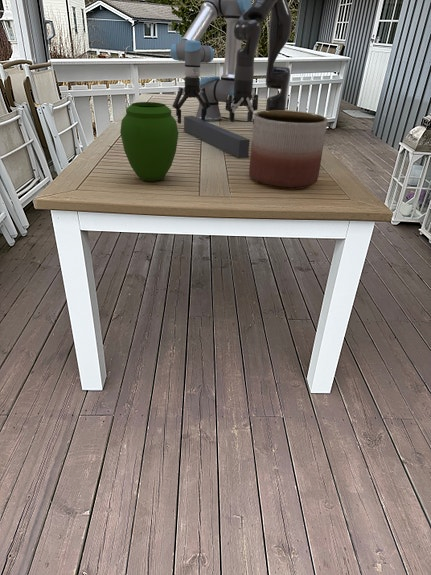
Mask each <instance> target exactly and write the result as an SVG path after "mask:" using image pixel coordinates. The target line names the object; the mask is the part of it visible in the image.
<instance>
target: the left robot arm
mask: <svg viewBox="0 0 431 575" xmlns="http://www.w3.org/2000/svg"><path fill="white" fill-rule="evenodd" d="M252 4H253V3H252V0H204V1H203V3H202V4H201V5H200V11H199V12H198V14H197V15H196V17H195V18H194V20H193V21H192V23H191V24H190V25H189V27H188V29H187V31H185V34H184V35H183V36H182V37H181V40H180V41H179V43H177V42H176V43H173V44H171V47H170V51H169V55H170V57H171V59H172V60H174V61H179V62H184V76H185V77H184V87H180V86H179V87H178V89H177V90H178V91H177V94H176V97H175V98H174V101H173V102H172V103H173V104H172V108H173V109H175V116H176V117H177V124H182V109H181V108H182V106H183V105H184V104H185V102H186V101H187V99H189V98H190V99H192V98H196V100H197V101H198V102H199V103H198V104H199V105H198V107H197V111H196V114H195V117H196V118H199V119H201V120H204V121H206V122H218V121H221V120H222V119H225V120H229V117H225V116H222V114H221V110H220V107H219V105H220V103H226V98H227V95H228V94H229V95H234V79H235V69H236V57H237V51H238V49H240V48H242V43H243V41H240V40H238V39H236V38H235V36H234V26H235V23H236V22H237V20H238V19H239V18H240V17H241V16H242V15H243V14H244V13H245V12H246V11H247V10H248V9H249V8H250V7H251V6H252ZM220 16H221V17H222V16H223V17H224V20H225V22H226V33H225V35H226V36H225V50H224V65H223V73H222V74H221V76H206V77H201V64H208V63H211V62H213V60H214V58H215V50H214V48H213V47H212V46H210V45H203V44H202V42H201V41H200V40H201V39H202V37H203V36H204V34H205V33H206V31H207V30H208V28H209V27H210V24H211V23H212V22H214V21H216V19H217V18H218V17H220ZM200 77H201V78H200ZM219 102H220V103H219ZM233 102H234V99H233V100H232V103H233ZM232 103H231V104H232ZM234 122H241V123H250V122H252V123H253V119H252V120H251V121H247V120H243V119H234Z"/></svg>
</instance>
